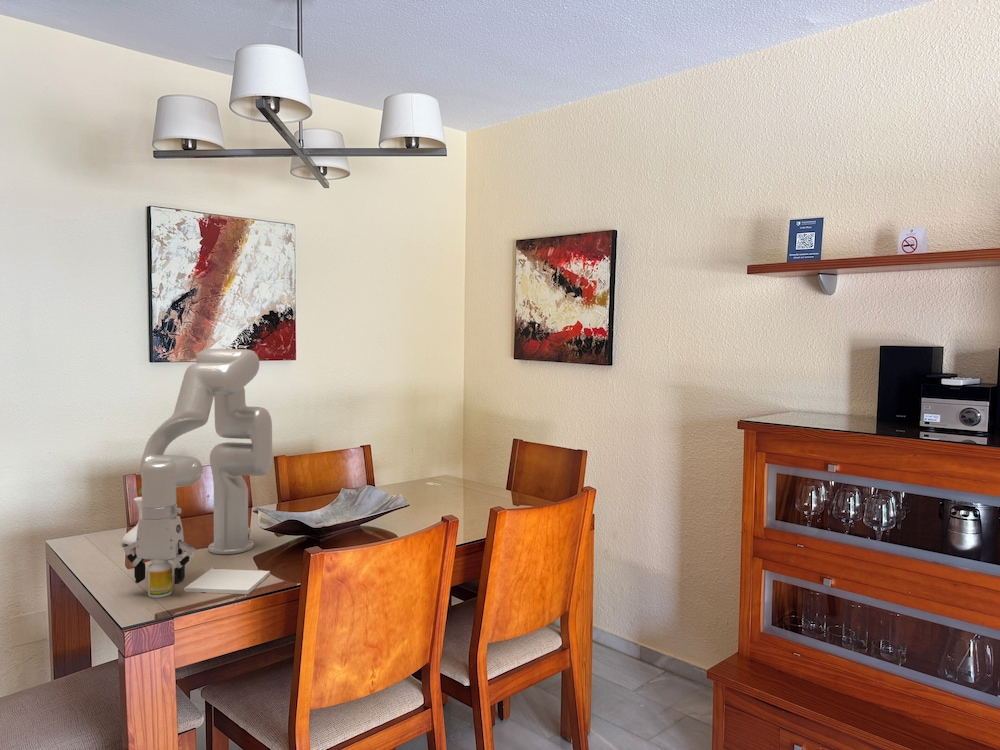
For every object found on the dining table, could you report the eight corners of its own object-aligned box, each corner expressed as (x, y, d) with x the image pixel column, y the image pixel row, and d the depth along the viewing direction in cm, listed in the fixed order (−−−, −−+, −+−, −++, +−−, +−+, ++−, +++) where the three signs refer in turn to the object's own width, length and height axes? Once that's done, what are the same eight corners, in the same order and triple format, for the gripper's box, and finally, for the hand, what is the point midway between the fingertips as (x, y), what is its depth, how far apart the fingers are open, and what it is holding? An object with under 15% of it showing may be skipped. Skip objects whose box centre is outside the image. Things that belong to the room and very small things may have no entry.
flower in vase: (146, 550, 202) (146, 465, 201) (113, 547, 204) (112, 463, 203) (176, 537, 215) (175, 458, 213) (144, 535, 217) (143, 456, 216)
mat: (211, 572, 184) (211, 569, 184) (269, 574, 183) (269, 571, 183) (184, 591, 170) (184, 587, 170) (247, 594, 169) (247, 590, 169)
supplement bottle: (144, 594, 168) (144, 555, 168) (167, 588, 172) (166, 550, 172) (153, 600, 164) (152, 560, 164) (176, 594, 168) (175, 555, 168)
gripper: (201, 509, 170) (201, 577, 171) (133, 507, 171) (134, 575, 172) (186, 517, 163) (186, 588, 164) (115, 515, 164) (115, 585, 165)
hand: (159, 581), depth 168 cm, fingers open, 9 cm apart
